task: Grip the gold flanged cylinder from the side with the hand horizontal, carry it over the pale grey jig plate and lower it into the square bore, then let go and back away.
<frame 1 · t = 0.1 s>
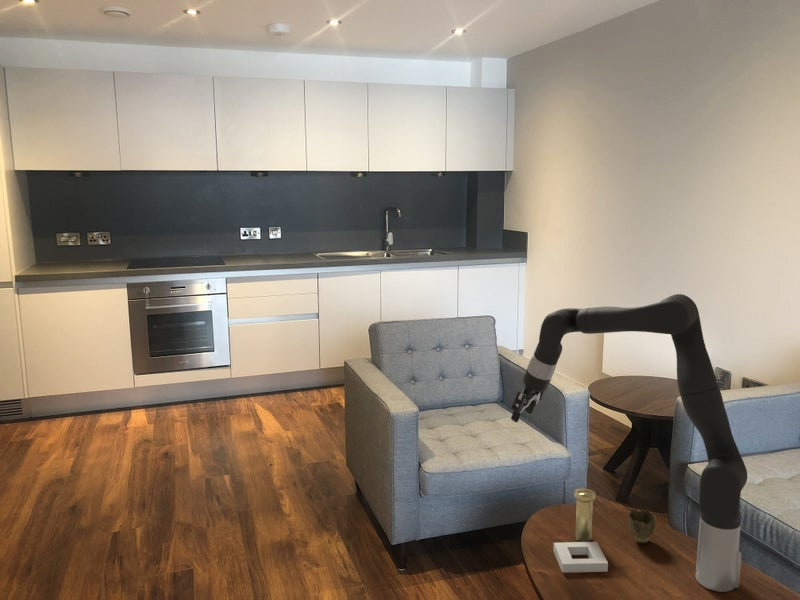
hand: (521, 416, 199), 31 cm above the table, tool tilted 20°, fingers open, 8 cm apart
gold flanged cylinder: (583, 538, 190), on the table
jig: (579, 560, 180), on the table
cup: (641, 541, 188), on the table
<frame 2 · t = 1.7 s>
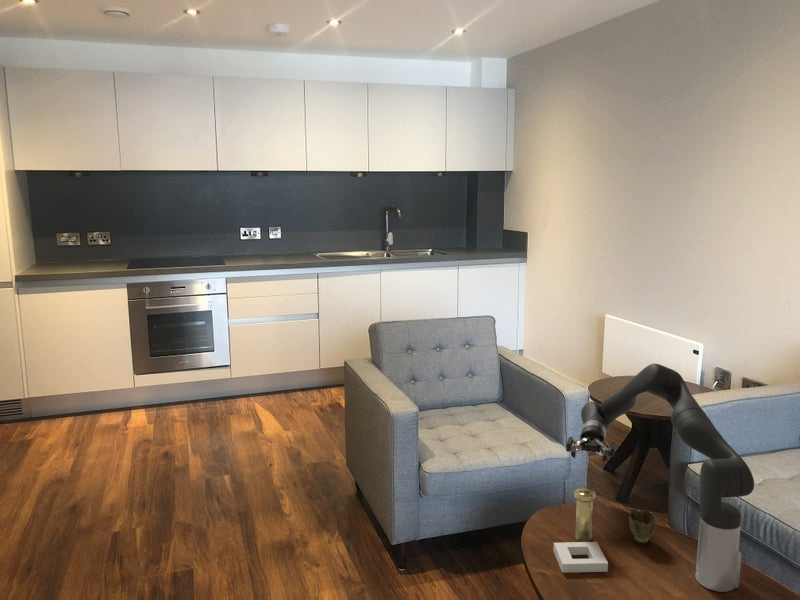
hand: (588, 457, 196), 20 cm above the table, tool horizontal, fingers open, 8 cm apart
nothing on the table moved.
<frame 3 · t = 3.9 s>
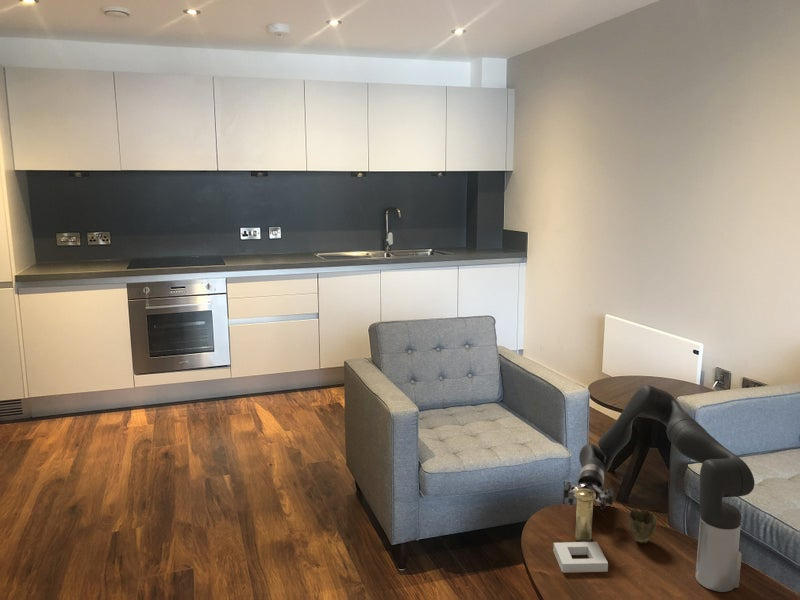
hand: (586, 504, 193), 8 cm above the table, tool horizontal, fingers open, 8 cm apart
nothing on the table moved.
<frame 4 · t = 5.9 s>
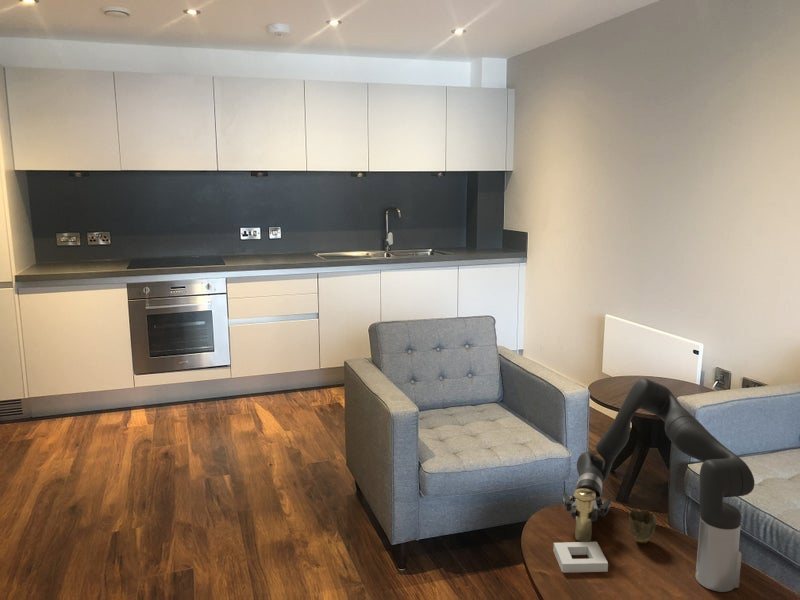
hand: (583, 517, 186), 8 cm above the table, tool horizontal, fingers closed on gold flanged cylinder, 4 cm apart
gold flanged cylinder: (583, 538, 190), on the table, touching gripper
everything else where it was.
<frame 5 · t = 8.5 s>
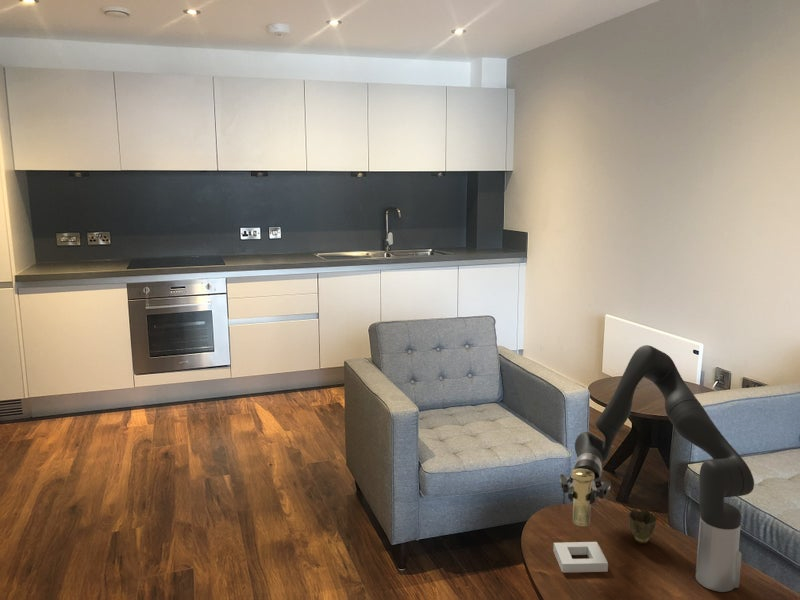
hand: (581, 499, 173), 20 cm above the table, tool horizontal, fingers closed on gold flanged cylinder, 4 cm apart
gold flanged cylinder: (581, 521, 177), point 12 cm above the table, touching gripper
everything else where it was.
when the fingers open (9 cm above the table, at t = 11.2 s): gold flanged cylinder drops 1 cm, resting in jig.
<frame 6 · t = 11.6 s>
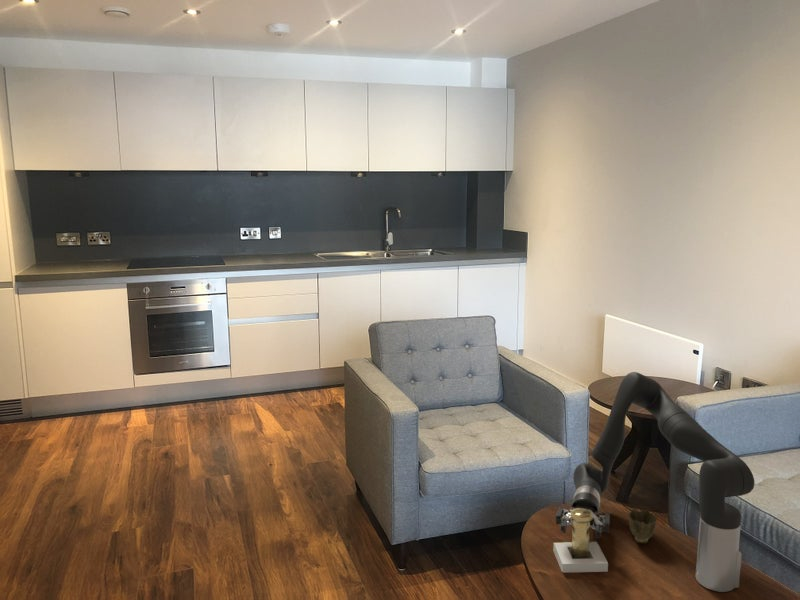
hand: (580, 532, 176), 10 cm above the table, tool horizontal, fingers open, 8 cm apart
gold flanged cylinder: (579, 560, 180), resting in jig
everything else where it was.
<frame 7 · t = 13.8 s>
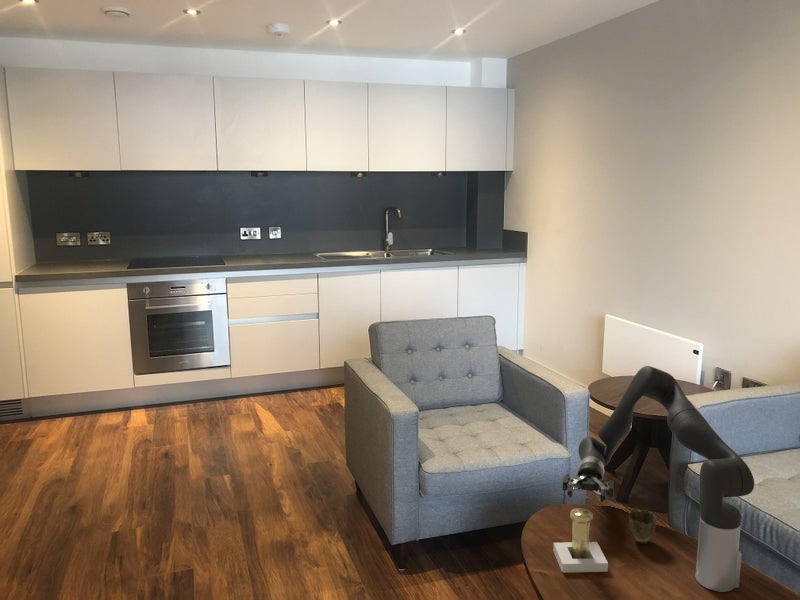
hand: (586, 496, 186), 14 cm above the table, tool horizontal, fingers open, 8 cm apart
nothing on the table moved.
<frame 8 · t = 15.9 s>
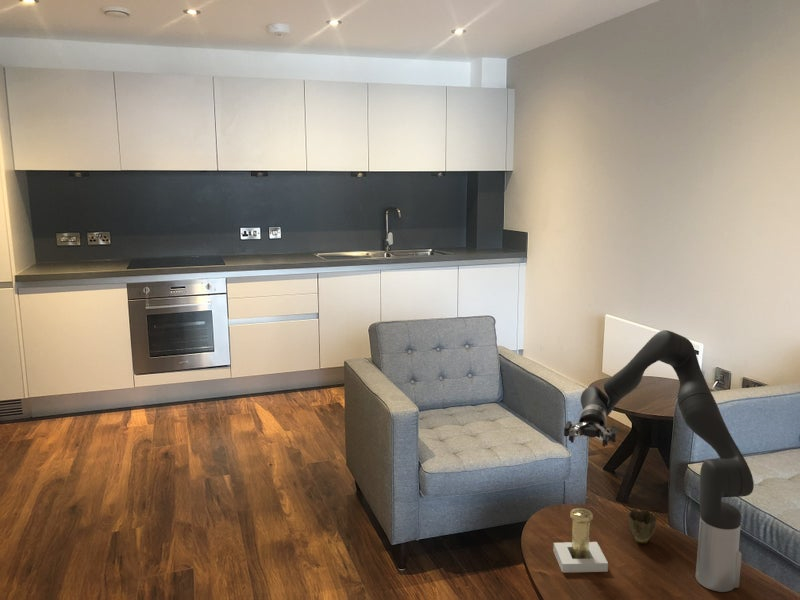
hand: (587, 441, 184), 30 cm above the table, tool horizontal, fingers open, 8 cm apart
nothing on the table moved.
at the end: gold flanged cylinder 0.1 cm off-centre on the jig, point 0.0 cm above the jig's base; gold flanged cylinder tilted 0°; the gripper is holding nothing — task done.
